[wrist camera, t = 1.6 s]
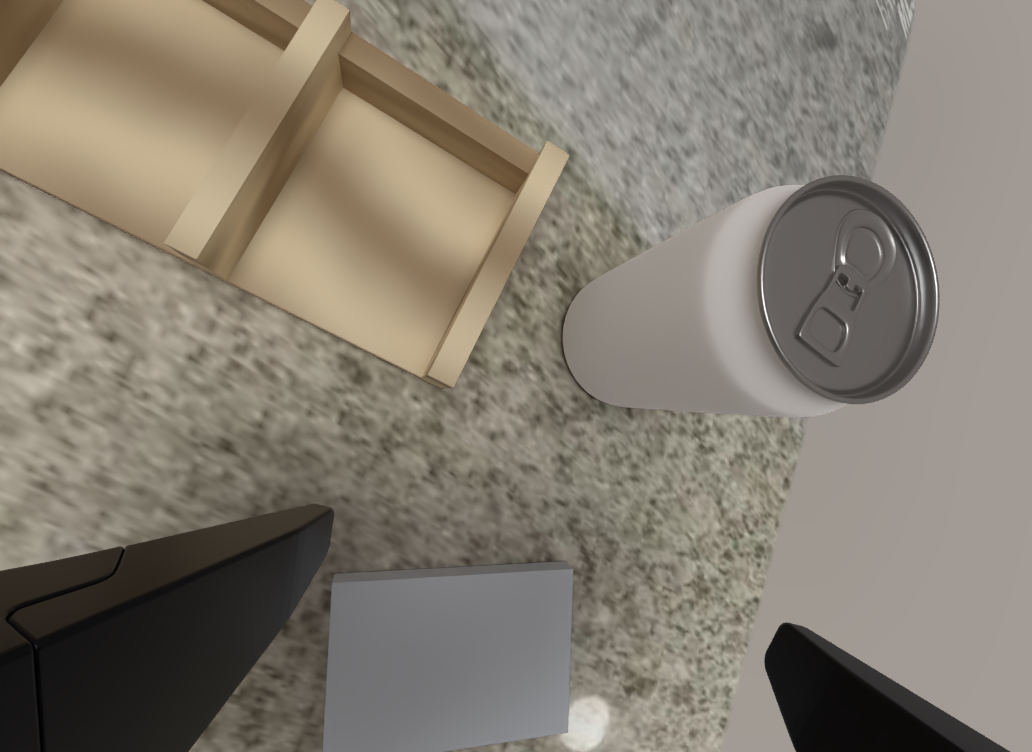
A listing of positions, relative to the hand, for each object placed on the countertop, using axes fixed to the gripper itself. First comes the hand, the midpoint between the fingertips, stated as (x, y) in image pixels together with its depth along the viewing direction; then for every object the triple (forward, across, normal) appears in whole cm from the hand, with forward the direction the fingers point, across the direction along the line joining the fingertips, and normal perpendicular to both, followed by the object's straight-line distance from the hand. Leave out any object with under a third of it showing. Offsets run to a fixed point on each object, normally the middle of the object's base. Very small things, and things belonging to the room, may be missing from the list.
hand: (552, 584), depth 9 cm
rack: (+13, -13, +6) cm, 19 cm away
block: (+8, -1, -11) cm, 14 cm away
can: (+15, +3, +2) cm, 16 cm away
